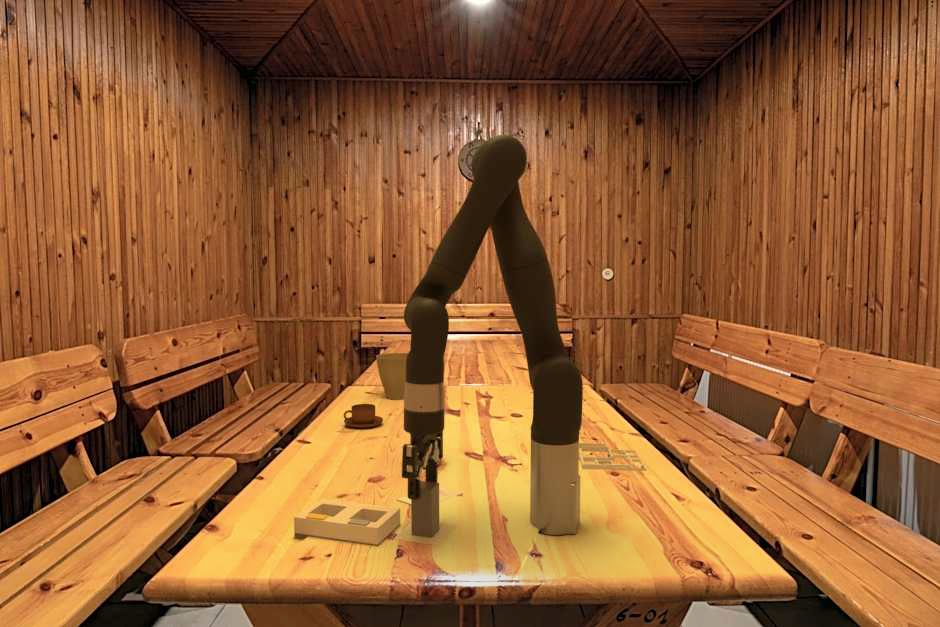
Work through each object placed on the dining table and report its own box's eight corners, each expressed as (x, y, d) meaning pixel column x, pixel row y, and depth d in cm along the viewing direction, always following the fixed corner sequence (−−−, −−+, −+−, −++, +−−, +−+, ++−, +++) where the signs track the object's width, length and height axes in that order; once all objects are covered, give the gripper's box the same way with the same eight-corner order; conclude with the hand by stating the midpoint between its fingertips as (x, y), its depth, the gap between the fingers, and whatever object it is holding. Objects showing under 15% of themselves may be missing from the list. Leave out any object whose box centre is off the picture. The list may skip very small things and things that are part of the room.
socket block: (400, 528, 128) (400, 506, 128) (377, 550, 118) (377, 526, 118) (322, 518, 133) (321, 497, 133) (294, 538, 124) (294, 515, 123)
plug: (439, 529, 125) (439, 482, 125) (431, 537, 122) (431, 490, 121) (419, 526, 127) (419, 480, 126) (411, 535, 123) (411, 487, 122)
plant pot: (382, 393, 257) (382, 352, 256) (420, 394, 255) (420, 353, 254) (371, 401, 242) (371, 358, 241) (411, 402, 240) (411, 358, 239)
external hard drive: (395, 506, 141) (435, 490, 151) (424, 516, 136) (463, 498, 145) (395, 499, 141) (435, 483, 150) (424, 508, 136) (463, 491, 145)
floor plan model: (542, 449, 183) (542, 442, 183) (634, 451, 181) (634, 444, 181) (543, 470, 165) (543, 462, 165) (646, 473, 163) (646, 465, 163)
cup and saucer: (357, 432, 199) (357, 412, 199) (336, 425, 208) (336, 406, 208) (390, 426, 207) (390, 406, 206) (369, 419, 216) (369, 400, 215)
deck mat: (456, 530, 127) (456, 526, 127) (439, 549, 119) (439, 545, 119) (412, 524, 130) (412, 520, 130) (393, 543, 121) (393, 538, 121)
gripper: (428, 415, 115) (427, 507, 116) (456, 399, 128) (454, 481, 129) (389, 411, 117) (388, 501, 118) (420, 396, 130) (419, 477, 132)
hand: (422, 491), depth 124 cm, fingers open, 8 cm apart
